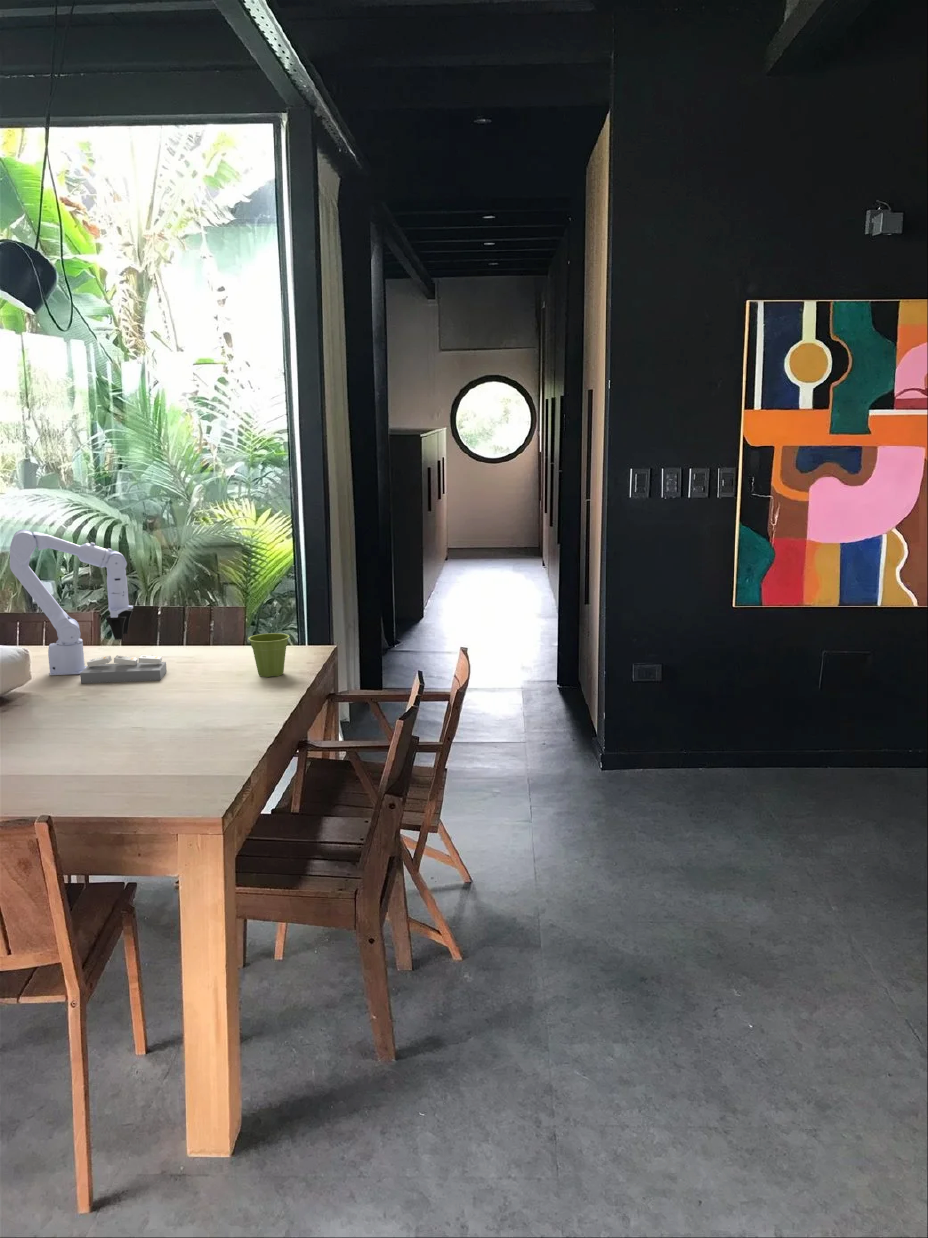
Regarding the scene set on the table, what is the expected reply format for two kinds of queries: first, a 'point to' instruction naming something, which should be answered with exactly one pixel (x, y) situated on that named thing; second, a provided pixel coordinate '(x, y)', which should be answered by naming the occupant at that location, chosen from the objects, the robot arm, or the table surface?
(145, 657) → the rocker right
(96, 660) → the rocker left
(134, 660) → the rocker middle
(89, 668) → the grey flat tray
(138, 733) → the table surface
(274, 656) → the plant pot
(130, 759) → the table surface
